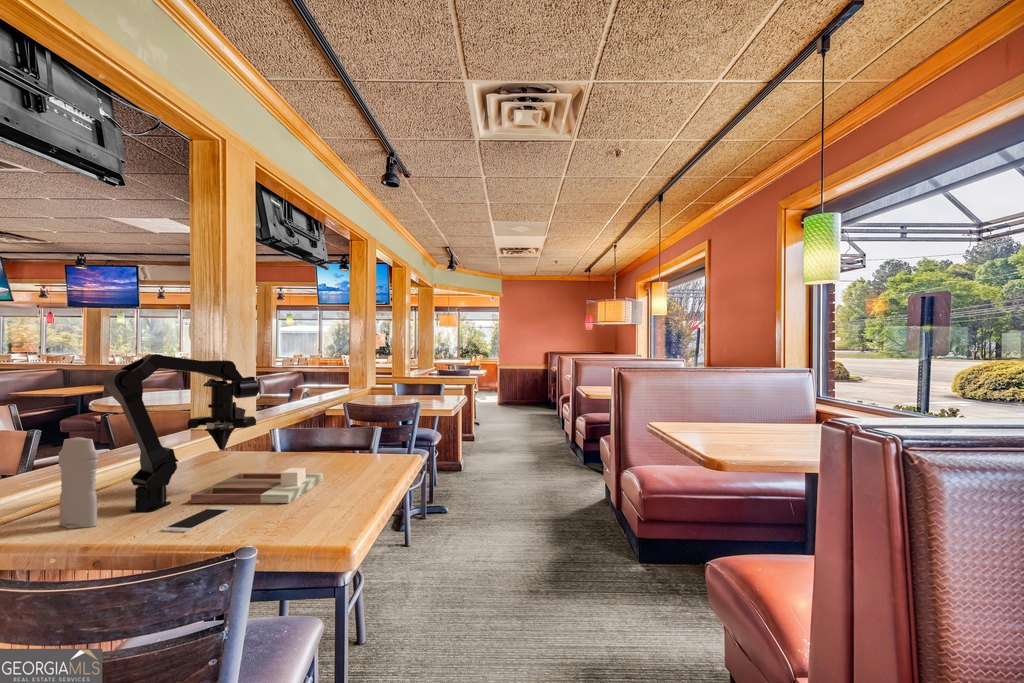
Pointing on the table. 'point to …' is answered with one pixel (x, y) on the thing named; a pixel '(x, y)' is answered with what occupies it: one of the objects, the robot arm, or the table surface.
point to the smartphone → (197, 519)
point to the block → (293, 476)
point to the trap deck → (255, 489)
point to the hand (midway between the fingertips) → (222, 449)
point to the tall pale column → (78, 483)
